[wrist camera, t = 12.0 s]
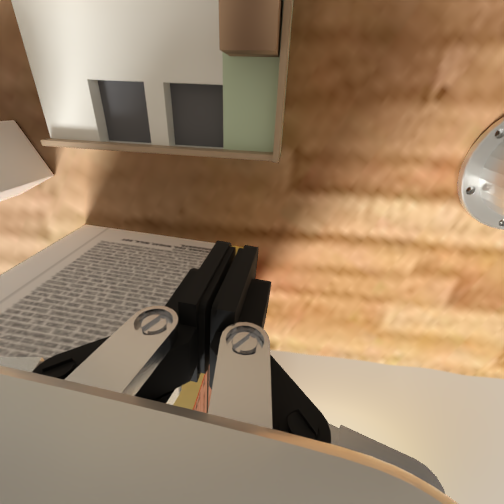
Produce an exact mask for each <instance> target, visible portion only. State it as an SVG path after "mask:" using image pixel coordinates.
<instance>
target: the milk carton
mask: <svg viewBox="0 0 504 504" xmlns="http://www.w3.org/2000/svg"><path fill="white" fill-rule="evenodd" d="M52 176H54V174H53V173H52V172H51V170H50V169H49V167H48V166H47V165H46V163H45V162H44V160H43V159H42V158H41V156H40V155H39V154H38V152H37V151H36V149H35V148H34V147H33V145H32V144H31V143H30V141H29V140H28V138H27V137H26V136H25V134H24V133H23V132H22V130H21V129H20V127H19V126H18V125H17V123H16V122H15V121H14V120H8V121H0V201H3V200H6V199H9V198H12V197H14V196H17V195H20V194H22V193H24V192H26V191H27V190H29V189H31V188H33V187H35V186H36V185H38V184H40V183H42V182H44V181H45V180H47V179H49V178H51V177H52Z"/></svg>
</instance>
